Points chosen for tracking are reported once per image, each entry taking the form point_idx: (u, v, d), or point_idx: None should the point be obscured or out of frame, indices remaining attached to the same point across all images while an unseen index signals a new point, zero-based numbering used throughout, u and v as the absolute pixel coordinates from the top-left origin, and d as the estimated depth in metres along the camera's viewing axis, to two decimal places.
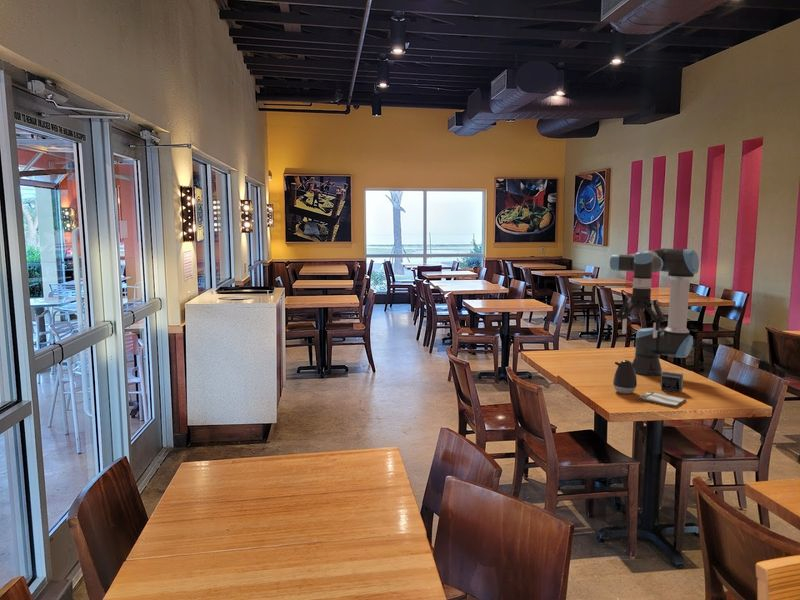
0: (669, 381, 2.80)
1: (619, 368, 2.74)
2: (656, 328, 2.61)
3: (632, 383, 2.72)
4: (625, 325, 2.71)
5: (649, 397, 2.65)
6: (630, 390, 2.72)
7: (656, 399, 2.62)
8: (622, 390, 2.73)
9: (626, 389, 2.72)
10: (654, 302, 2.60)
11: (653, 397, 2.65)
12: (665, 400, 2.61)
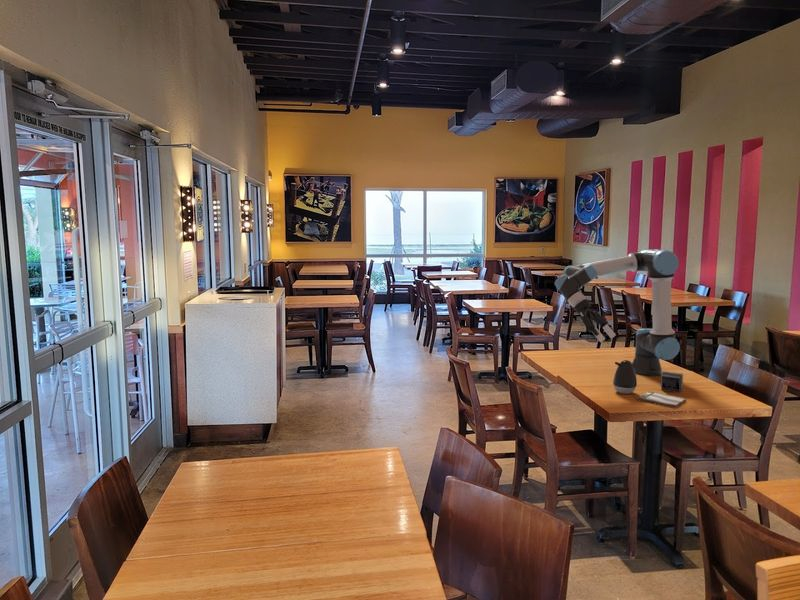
0: (669, 381, 2.80)
1: (619, 368, 2.74)
2: (595, 334, 2.76)
3: (632, 383, 2.72)
4: (608, 330, 2.86)
5: (649, 397, 2.65)
6: (630, 390, 2.72)
7: (656, 399, 2.62)
8: (622, 390, 2.73)
9: (626, 389, 2.72)
10: None
11: (653, 397, 2.65)
12: (665, 400, 2.61)
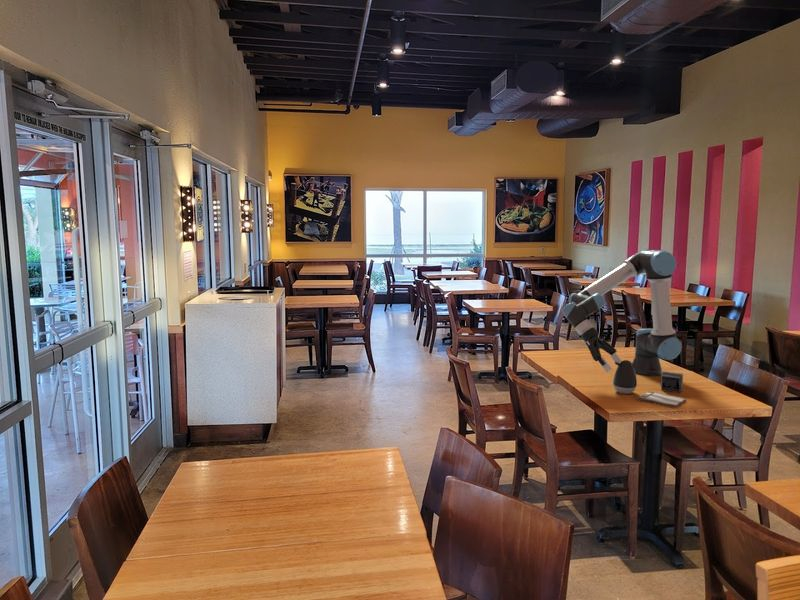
0: (669, 381, 2.80)
1: (619, 368, 2.74)
2: None
3: (632, 383, 2.72)
4: (616, 359, 2.84)
5: (649, 397, 2.65)
6: (630, 390, 2.72)
7: (656, 399, 2.62)
8: (622, 390, 2.73)
9: (626, 389, 2.72)
10: None
11: (653, 397, 2.65)
12: (665, 400, 2.61)
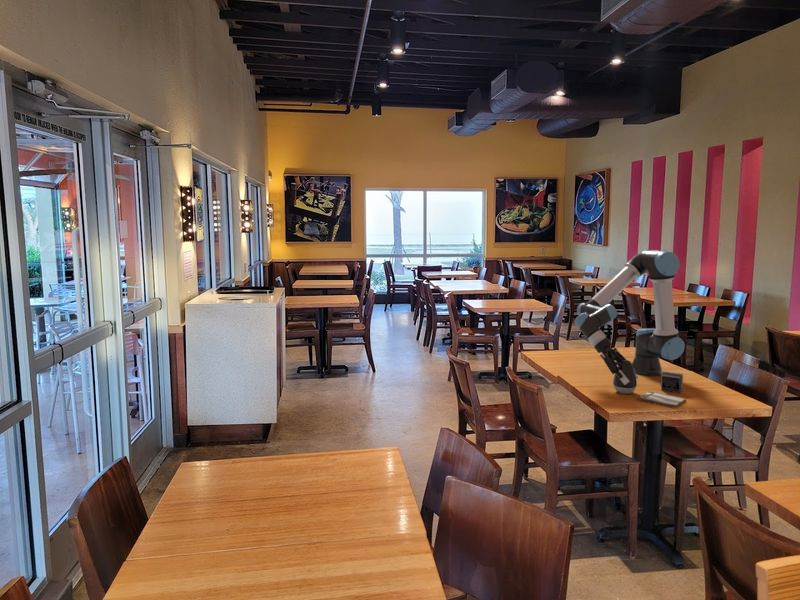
0: (669, 381, 2.80)
1: (619, 368, 2.74)
2: (619, 377, 2.72)
3: (632, 383, 2.72)
4: None
5: (649, 397, 2.65)
6: (630, 390, 2.72)
7: (656, 399, 2.62)
8: (622, 390, 2.73)
9: (626, 389, 2.72)
10: None
11: (653, 397, 2.65)
12: (665, 400, 2.61)
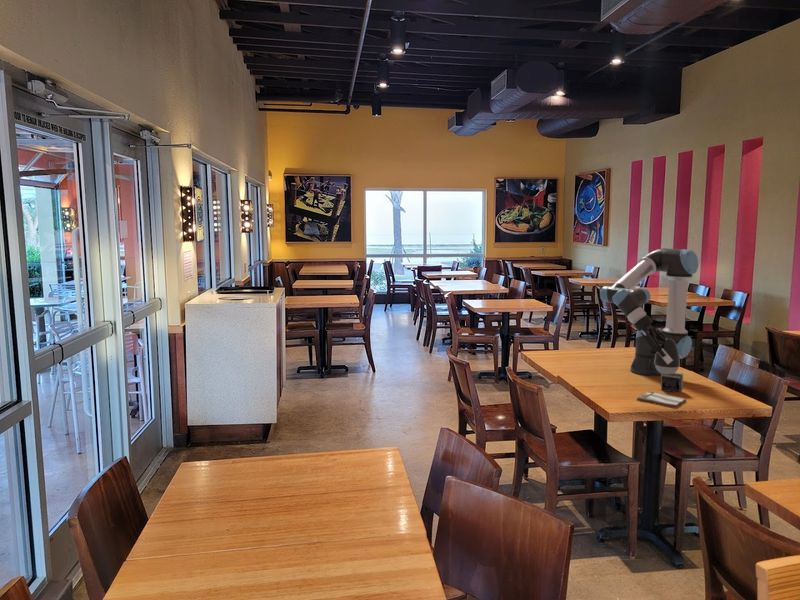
0: (669, 381, 2.80)
1: (661, 347, 2.60)
2: (661, 355, 2.57)
3: (675, 362, 2.57)
4: None
5: (649, 397, 2.65)
6: (673, 370, 2.58)
7: (656, 399, 2.62)
8: (664, 370, 2.58)
9: (669, 369, 2.58)
10: None
11: (653, 397, 2.65)
12: (665, 400, 2.61)
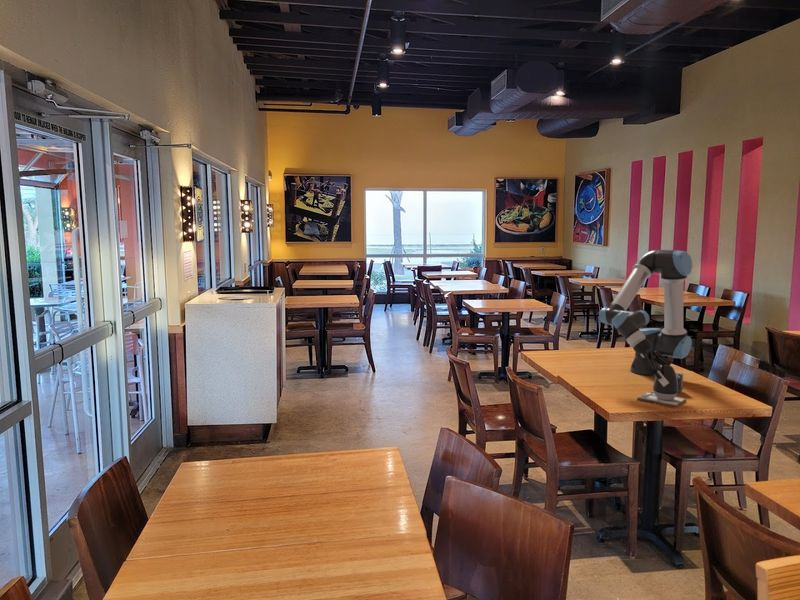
0: None
1: None
2: None
3: (674, 389, 2.58)
4: None
5: (649, 397, 2.65)
6: (672, 396, 2.59)
7: (656, 399, 2.62)
8: (663, 396, 2.60)
9: (668, 395, 2.59)
10: None
11: (653, 397, 2.65)
12: (665, 400, 2.61)
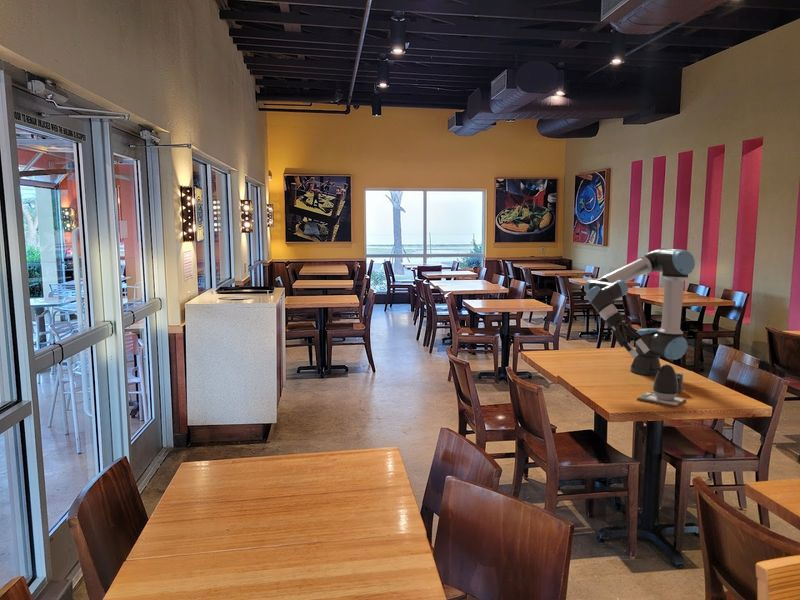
0: None
1: (660, 373, 2.61)
2: (627, 350, 2.66)
3: (674, 389, 2.58)
4: (641, 345, 2.76)
5: (649, 397, 2.65)
6: (672, 396, 2.59)
7: (656, 399, 2.62)
8: (663, 396, 2.60)
9: (668, 395, 2.59)
10: None
11: (653, 397, 2.65)
12: (665, 400, 2.61)
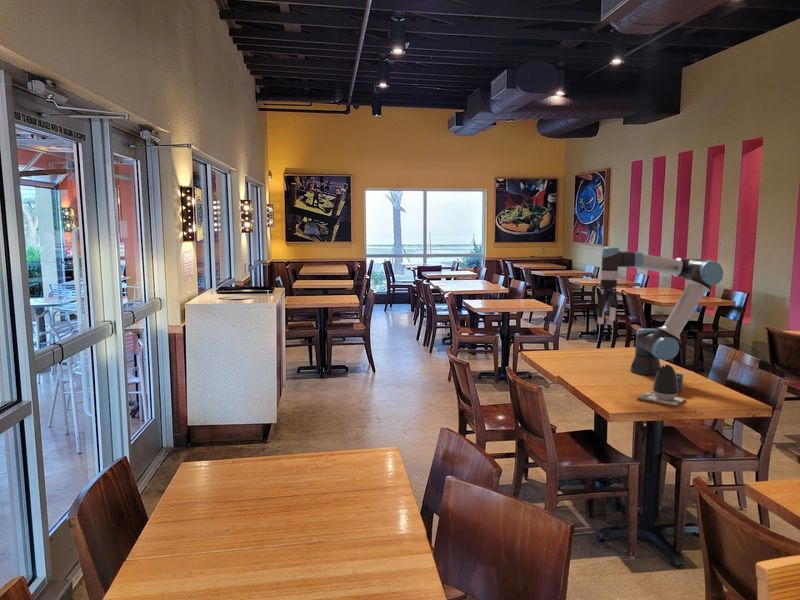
0: None
1: (660, 373, 2.61)
2: None
3: (674, 389, 2.58)
4: (612, 313, 3.00)
5: (649, 397, 2.65)
6: (672, 396, 2.59)
7: (656, 399, 2.62)
8: (663, 396, 2.60)
9: (668, 395, 2.59)
10: None
11: (653, 397, 2.65)
12: (665, 400, 2.61)
